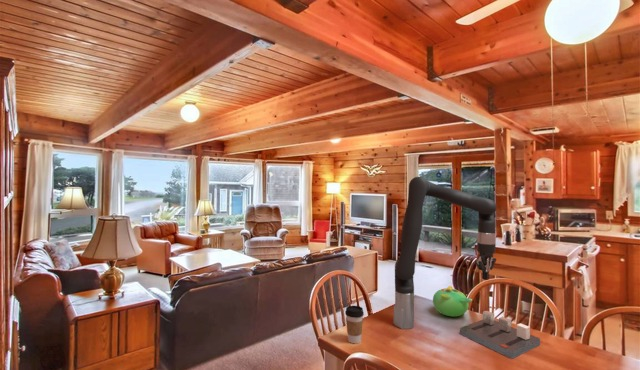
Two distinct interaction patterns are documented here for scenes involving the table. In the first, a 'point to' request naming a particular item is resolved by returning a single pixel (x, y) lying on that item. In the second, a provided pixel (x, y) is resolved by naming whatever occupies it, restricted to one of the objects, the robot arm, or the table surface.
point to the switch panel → (499, 336)
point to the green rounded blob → (451, 302)
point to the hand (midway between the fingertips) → (485, 279)
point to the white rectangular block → (523, 331)
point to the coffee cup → (354, 323)
